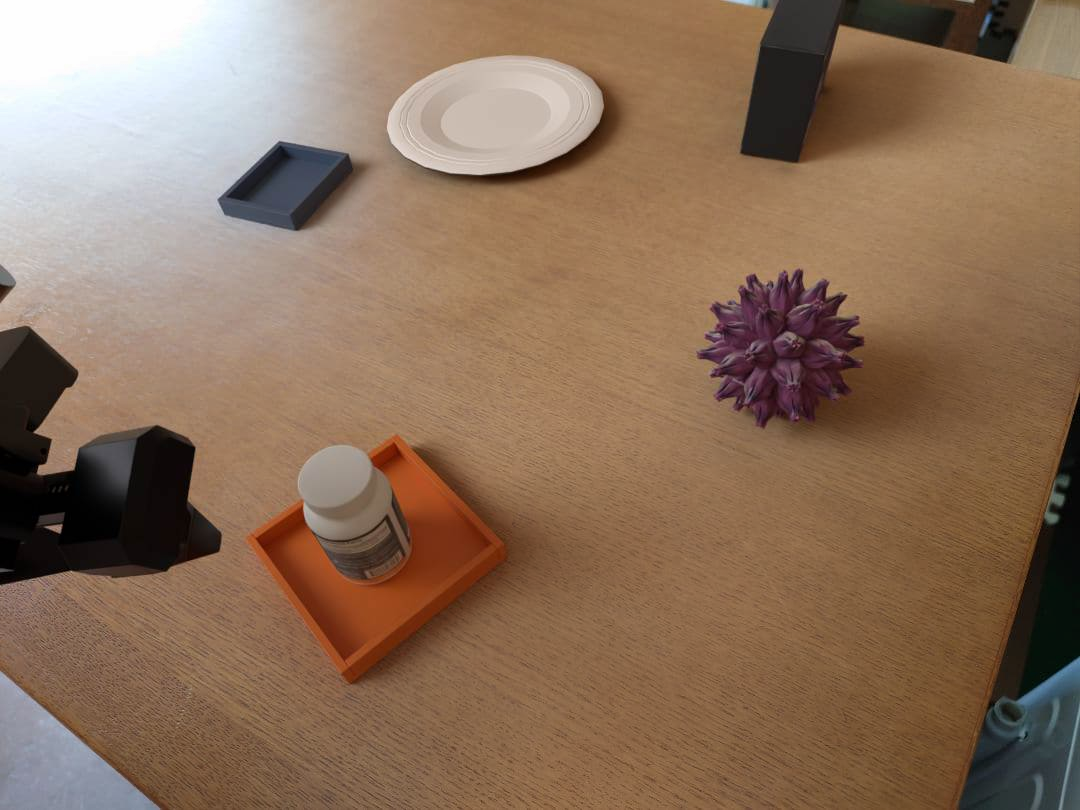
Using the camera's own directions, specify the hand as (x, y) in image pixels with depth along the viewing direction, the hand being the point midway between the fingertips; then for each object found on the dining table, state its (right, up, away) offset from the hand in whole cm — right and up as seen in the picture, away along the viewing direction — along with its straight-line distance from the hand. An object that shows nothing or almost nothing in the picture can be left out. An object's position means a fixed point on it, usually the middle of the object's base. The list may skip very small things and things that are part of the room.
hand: (153, 550), depth 44 cm
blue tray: (-5, +32, +41) cm, 52 cm away
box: (+49, +40, +42) cm, 76 cm away
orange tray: (+10, -3, +12) cm, 16 cm away
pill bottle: (+10, -2, +11) cm, 15 cm away
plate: (+17, +41, +46) cm, 64 cm away
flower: (+40, +9, +18) cm, 45 cm away
